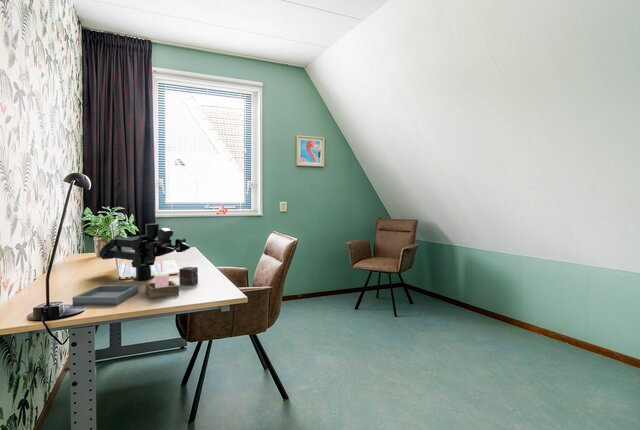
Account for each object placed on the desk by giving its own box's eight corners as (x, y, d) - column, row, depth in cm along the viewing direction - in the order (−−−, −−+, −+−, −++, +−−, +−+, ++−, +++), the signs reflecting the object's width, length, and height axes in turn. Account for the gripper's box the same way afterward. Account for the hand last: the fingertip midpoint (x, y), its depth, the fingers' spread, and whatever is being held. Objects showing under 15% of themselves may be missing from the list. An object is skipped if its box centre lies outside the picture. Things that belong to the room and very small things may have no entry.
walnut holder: (145, 293, 159) (145, 284, 158) (171, 289, 165) (171, 280, 164) (151, 299, 150) (151, 289, 150) (178, 295, 156) (178, 285, 156)
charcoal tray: (99, 292, 160) (99, 285, 160) (138, 292, 160) (138, 285, 160) (72, 305, 142) (72, 297, 142) (116, 305, 142) (116, 297, 142)
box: (191, 286, 171) (191, 269, 171) (179, 285, 173) (178, 269, 172) (198, 282, 177) (198, 267, 177) (186, 282, 179) (186, 266, 178)
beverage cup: (162, 291, 162) (162, 258, 161) (173, 293, 159) (172, 260, 158) (150, 295, 156) (149, 261, 155) (161, 297, 153) (160, 262, 152)
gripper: (139, 230, 170) (164, 232, 163) (172, 227, 186) (197, 228, 179) (140, 255, 170) (165, 258, 163) (173, 249, 187) (197, 252, 180)
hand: (182, 248), depth 172 cm, fingers open, 9 cm apart
